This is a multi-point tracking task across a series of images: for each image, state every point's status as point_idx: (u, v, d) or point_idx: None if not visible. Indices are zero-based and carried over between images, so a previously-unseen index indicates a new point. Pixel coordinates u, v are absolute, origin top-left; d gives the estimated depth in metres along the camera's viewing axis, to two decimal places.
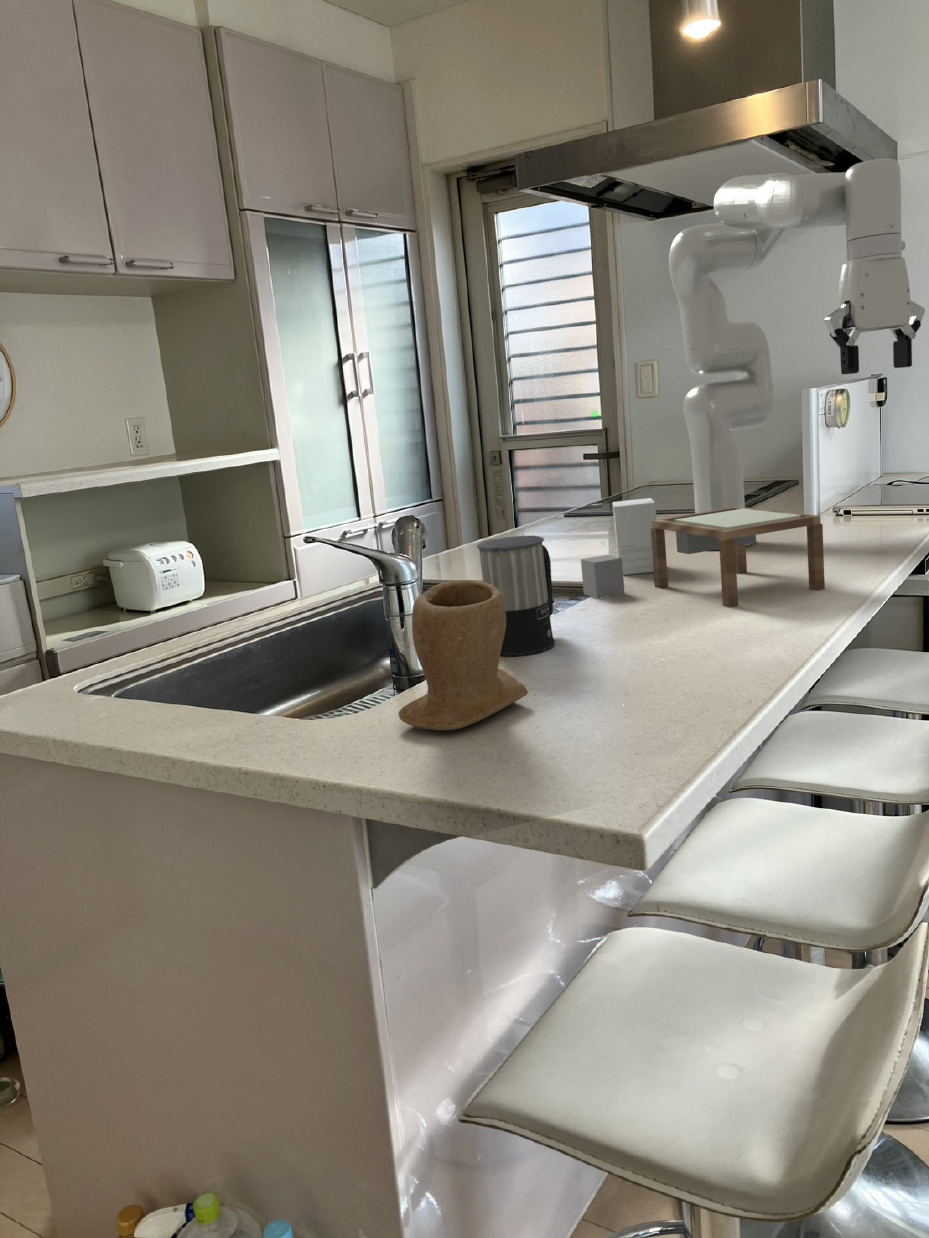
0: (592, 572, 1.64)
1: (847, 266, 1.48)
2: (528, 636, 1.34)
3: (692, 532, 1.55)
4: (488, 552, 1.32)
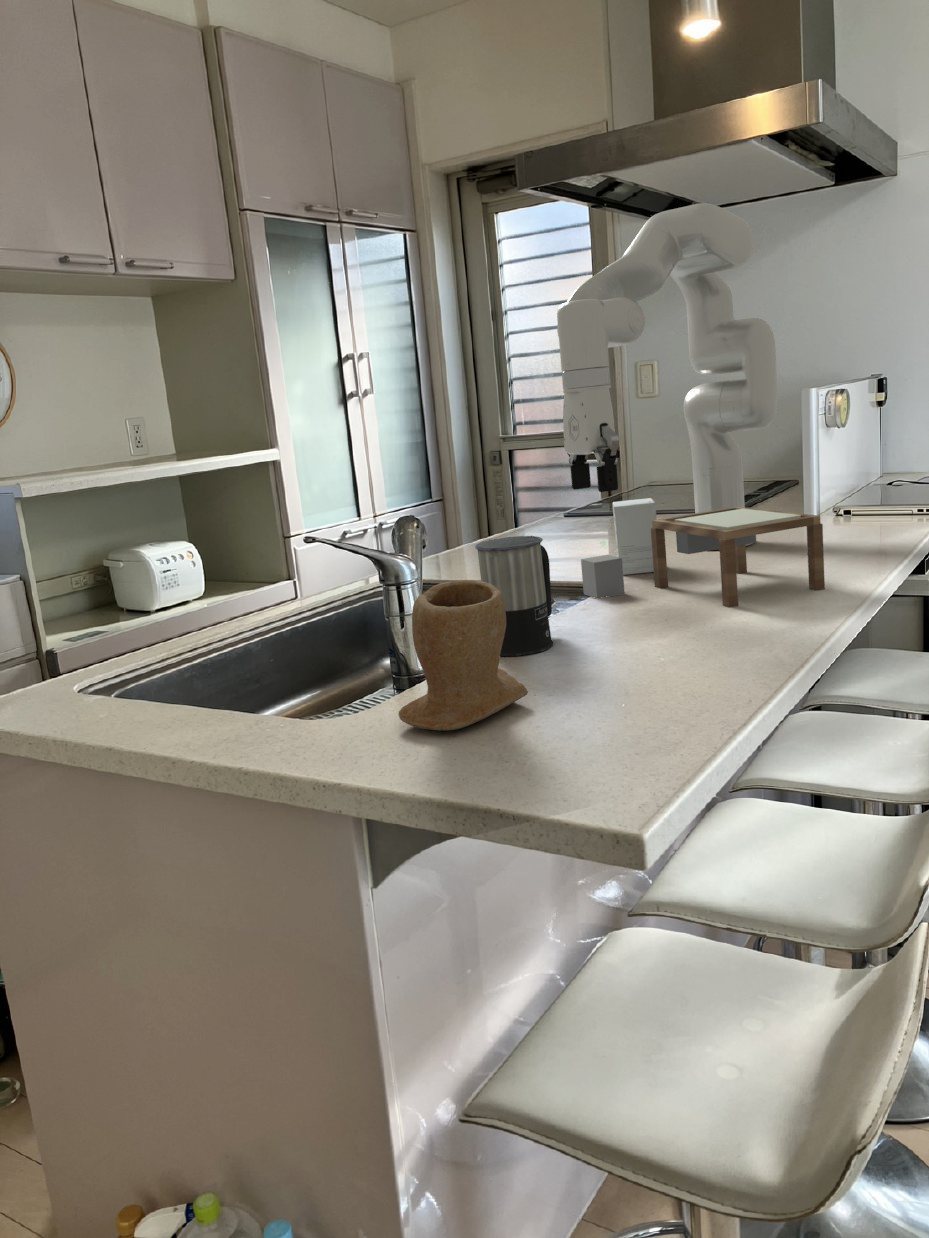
0: (592, 572, 1.64)
1: (597, 391, 1.56)
2: (526, 636, 1.34)
3: (692, 532, 1.55)
4: (486, 552, 1.32)
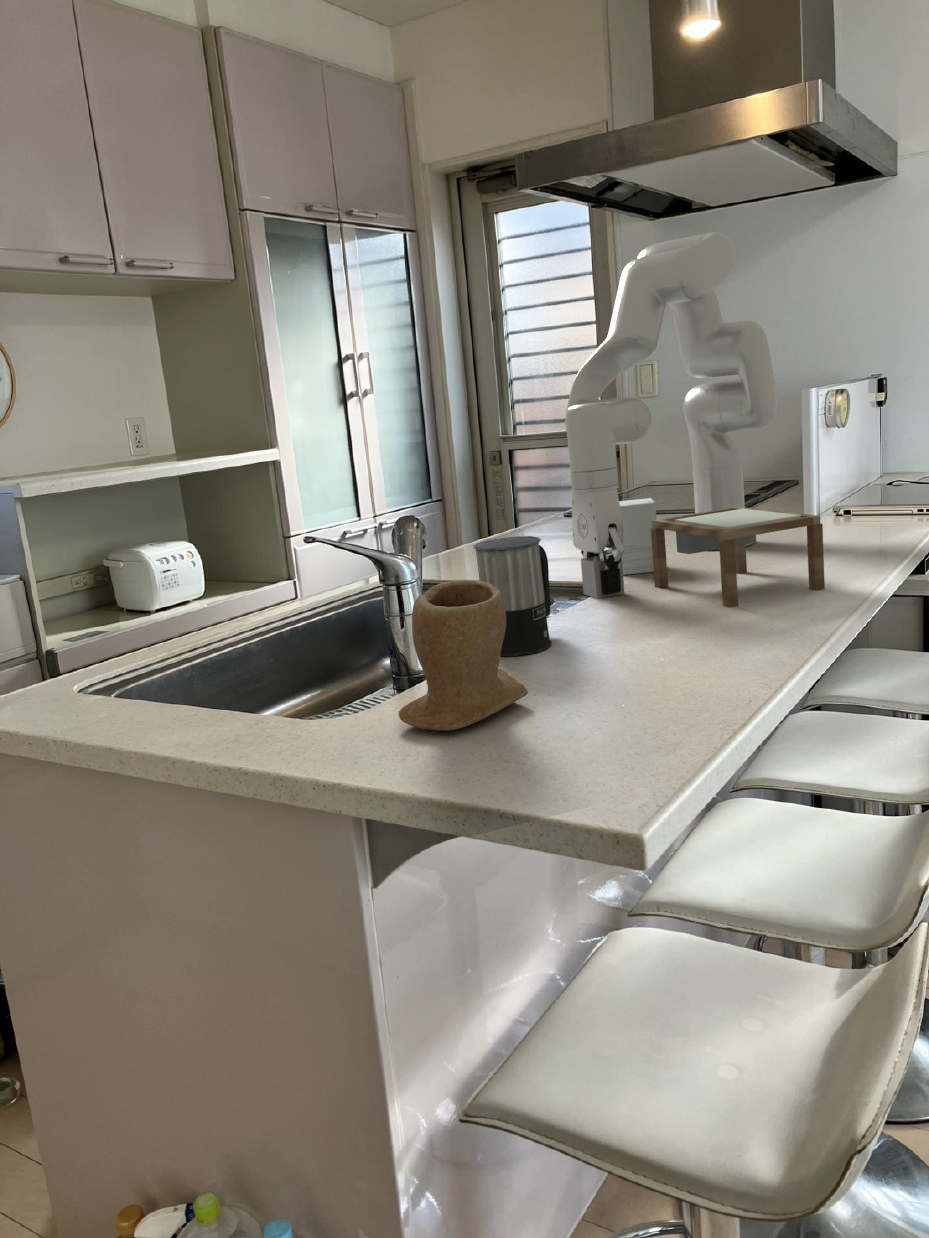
0: (592, 571, 1.64)
1: (606, 493, 1.60)
2: (524, 636, 1.34)
3: (692, 532, 1.55)
4: (484, 552, 1.32)
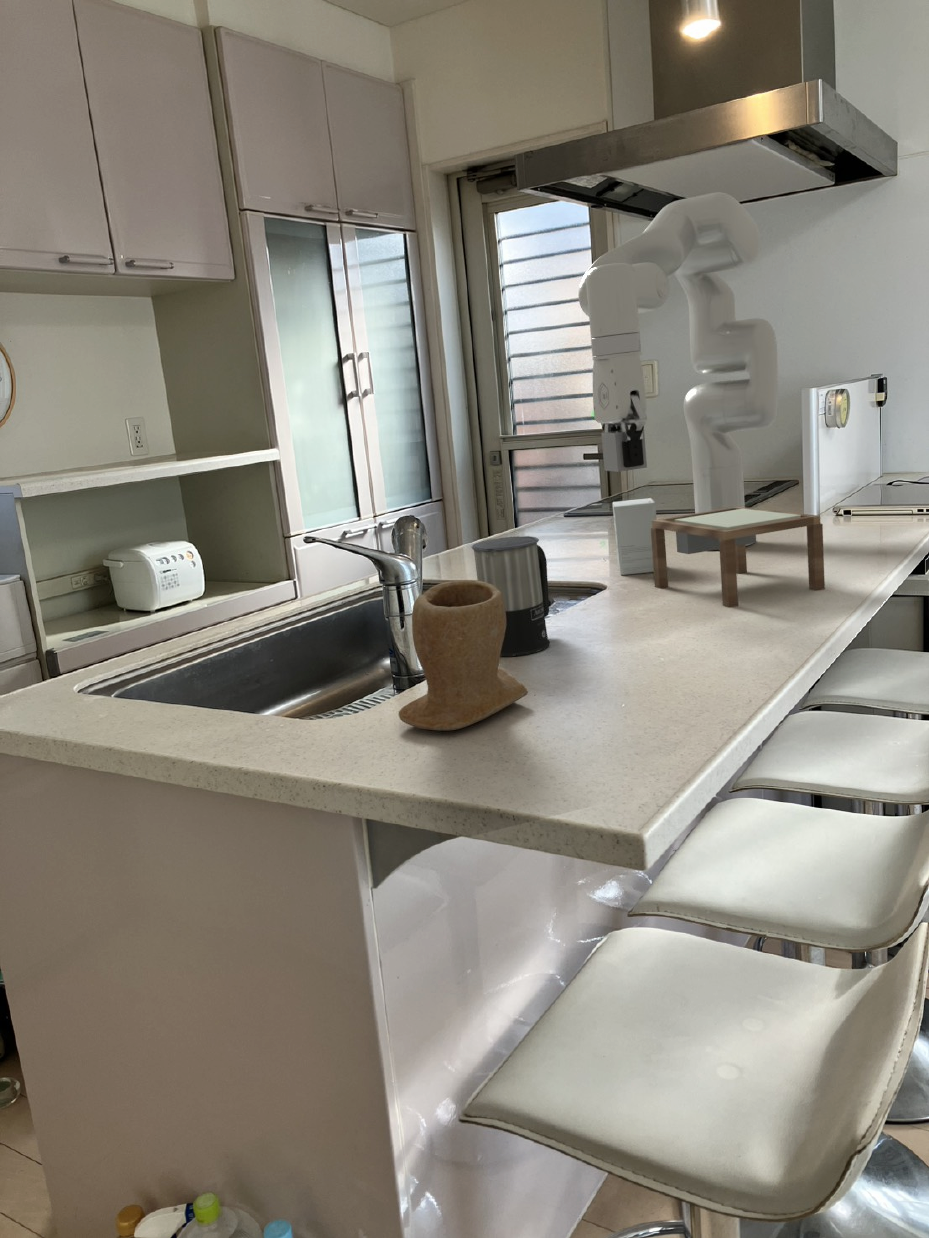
0: (613, 443, 1.58)
1: (628, 358, 1.53)
2: (522, 637, 1.34)
3: (692, 532, 1.55)
4: (482, 552, 1.33)
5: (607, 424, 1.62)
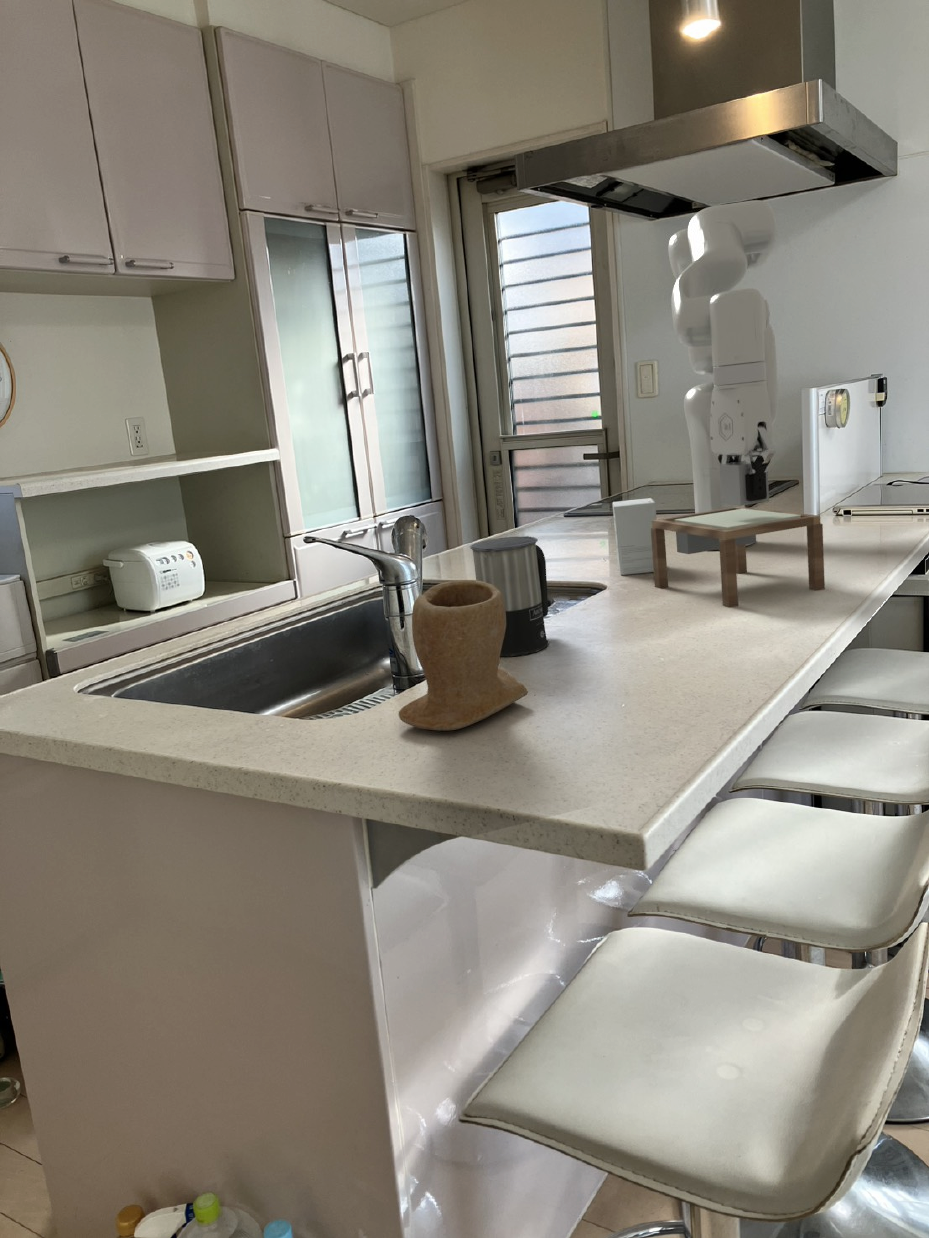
0: (735, 476, 1.51)
1: (755, 388, 1.46)
2: (520, 637, 1.34)
3: (692, 532, 1.55)
4: (480, 552, 1.33)
5: (725, 455, 1.55)
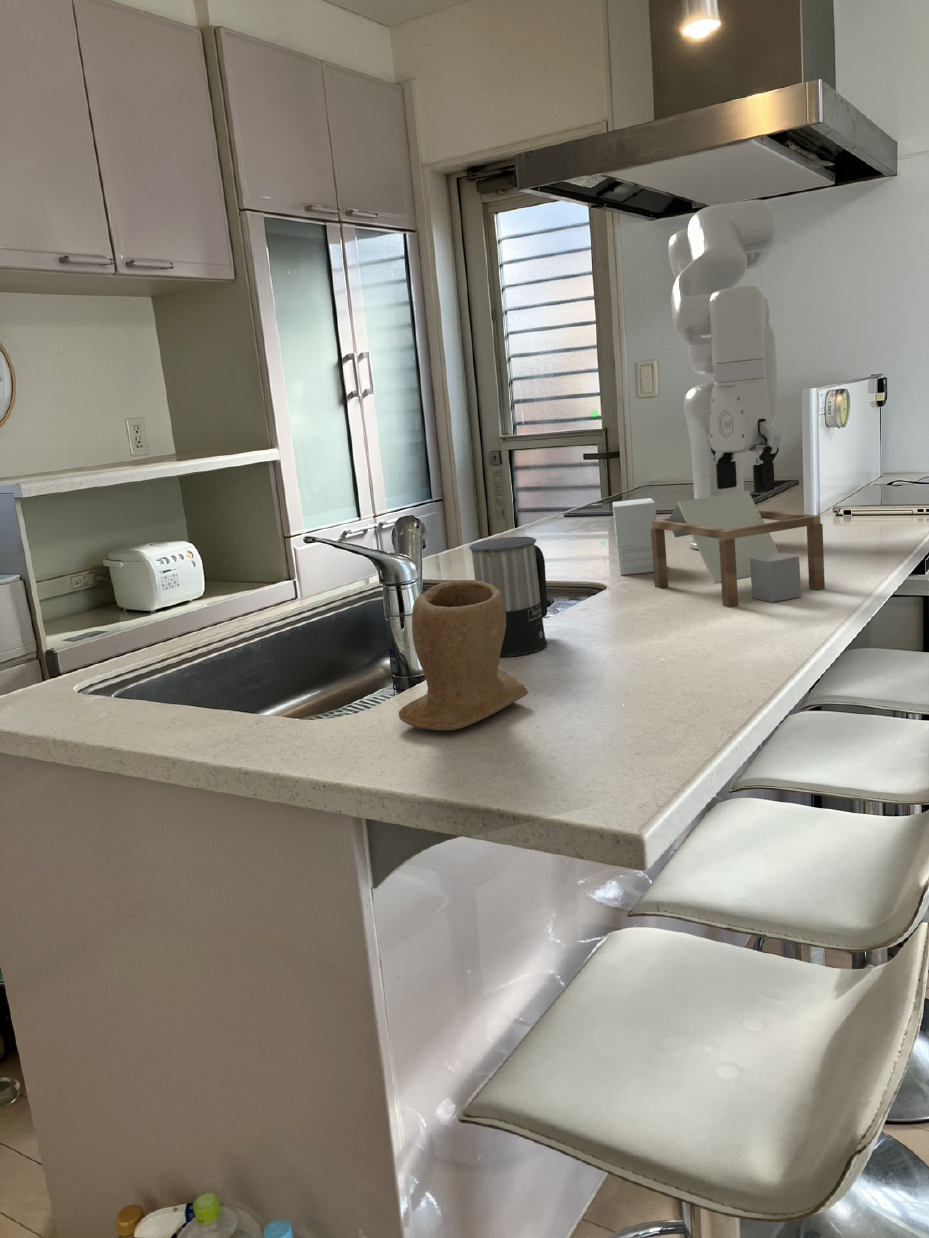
0: (755, 587, 1.51)
1: (755, 385, 1.46)
2: (519, 637, 1.34)
3: (692, 532, 1.55)
4: (479, 553, 1.33)
5: None
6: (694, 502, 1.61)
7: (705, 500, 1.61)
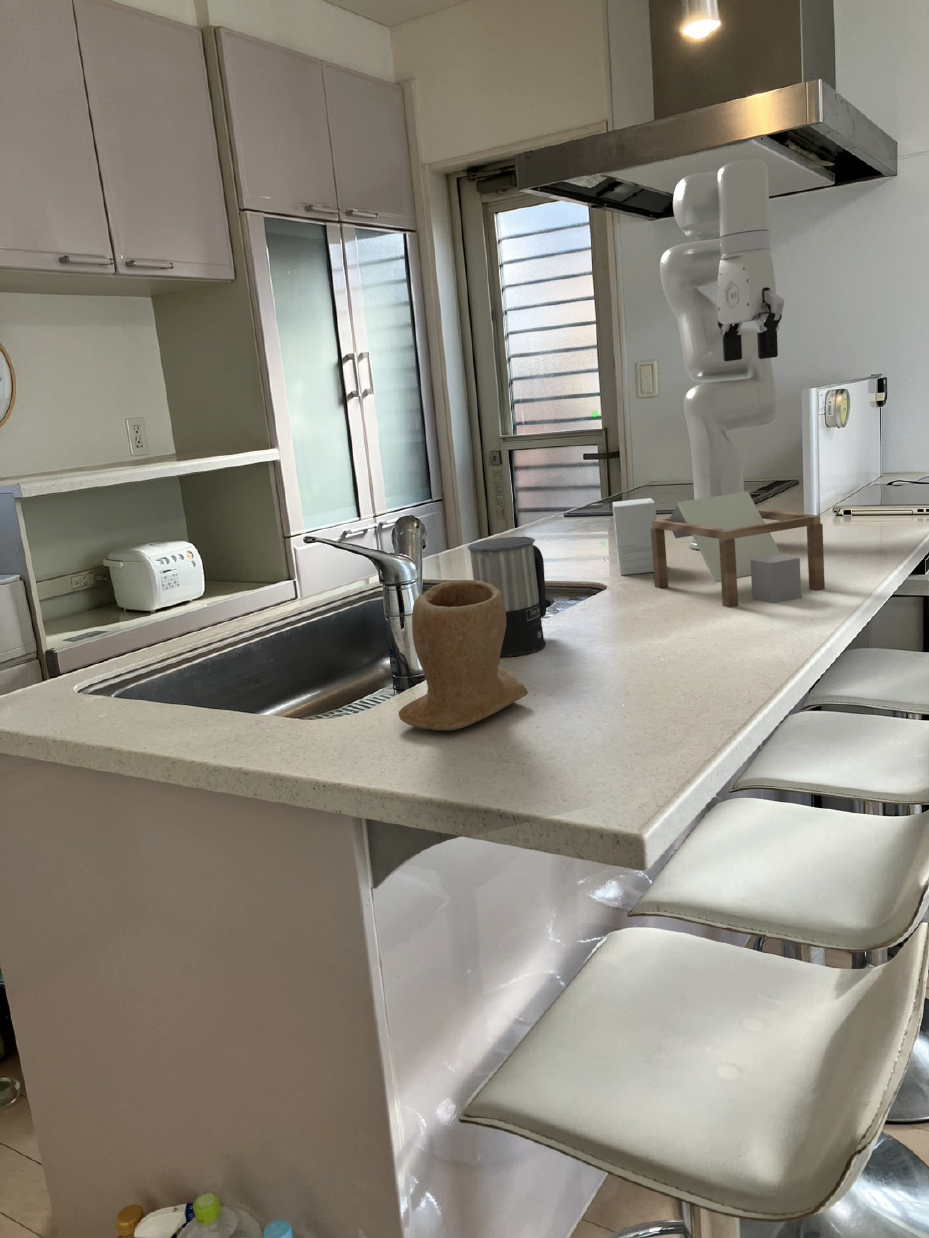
0: (755, 588, 1.51)
1: (760, 255, 1.54)
2: (517, 637, 1.34)
3: (692, 532, 1.55)
4: (477, 553, 1.33)
5: None
6: (694, 502, 1.61)
7: (705, 500, 1.62)
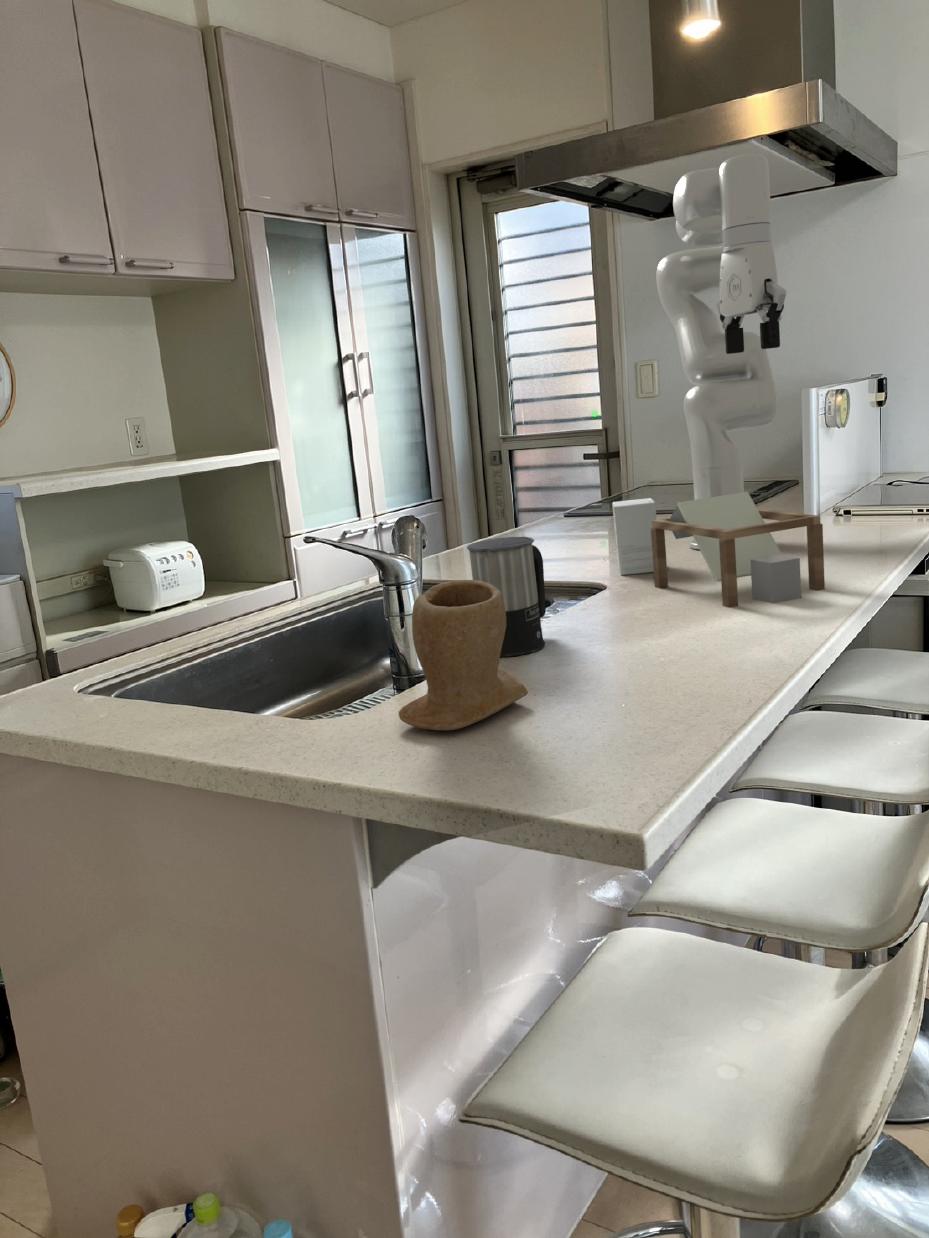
0: (755, 588, 1.51)
1: (762, 246, 1.57)
2: (516, 637, 1.34)
3: (692, 532, 1.55)
4: (477, 552, 1.33)
5: None
6: (693, 503, 1.61)
7: (704, 501, 1.62)
